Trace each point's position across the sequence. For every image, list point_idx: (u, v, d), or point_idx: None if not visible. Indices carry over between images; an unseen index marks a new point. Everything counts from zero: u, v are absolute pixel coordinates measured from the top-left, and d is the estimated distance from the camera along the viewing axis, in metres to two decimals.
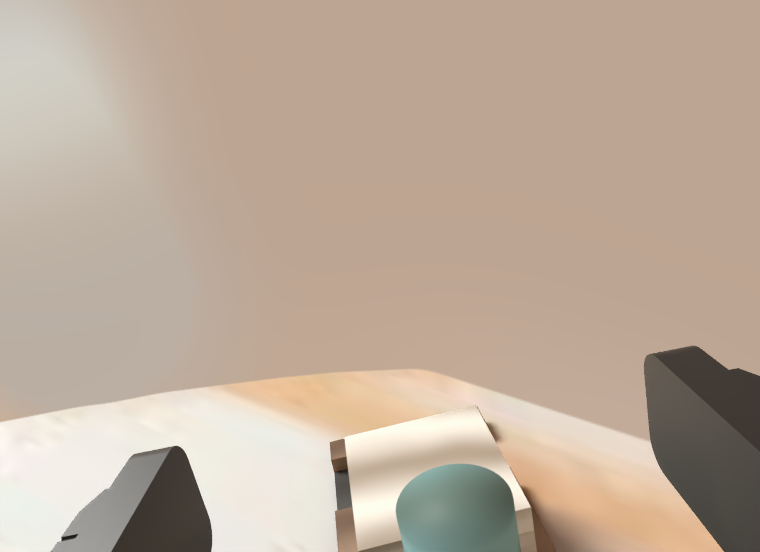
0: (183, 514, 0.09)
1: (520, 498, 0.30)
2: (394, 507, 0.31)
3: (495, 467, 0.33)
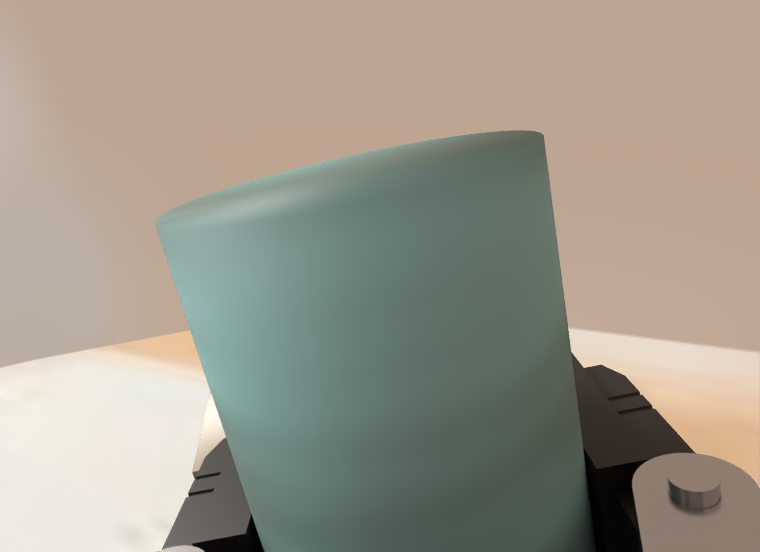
0: None
1: None
2: None
3: None
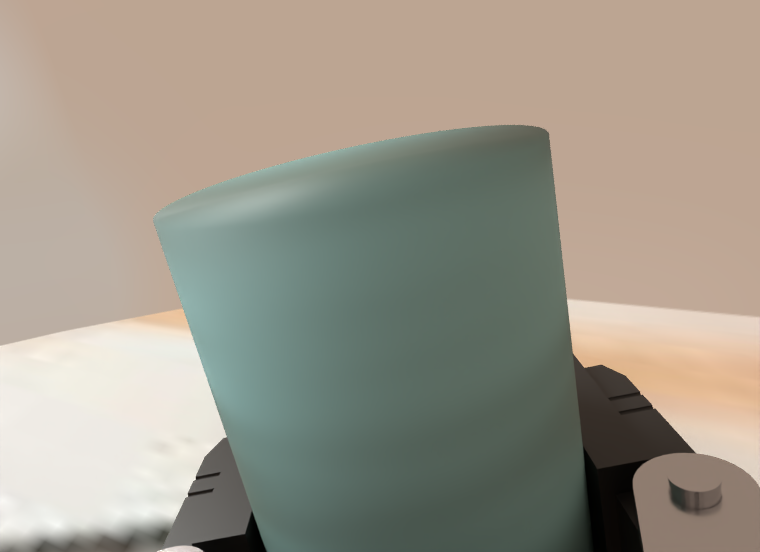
0: None
1: None
2: None
3: None
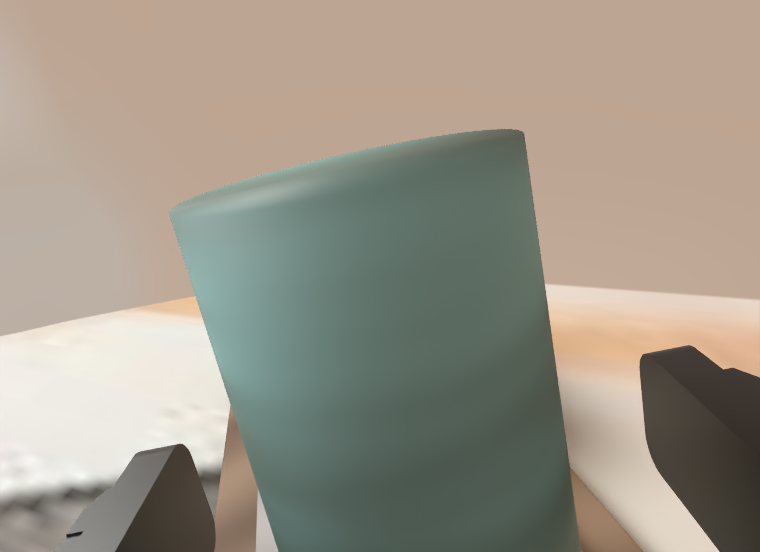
0: (187, 512, 0.09)
1: None
2: None
3: None
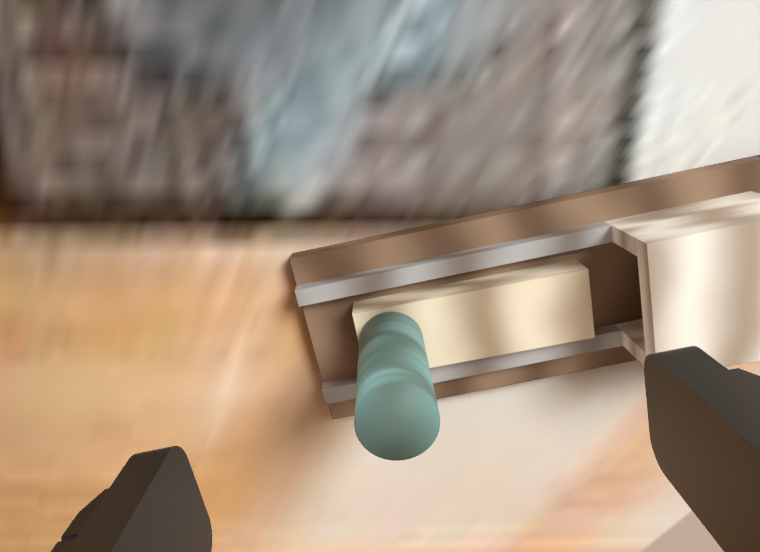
0: (183, 514, 0.09)
1: None
2: (690, 271, 0.34)
3: (713, 358, 0.36)
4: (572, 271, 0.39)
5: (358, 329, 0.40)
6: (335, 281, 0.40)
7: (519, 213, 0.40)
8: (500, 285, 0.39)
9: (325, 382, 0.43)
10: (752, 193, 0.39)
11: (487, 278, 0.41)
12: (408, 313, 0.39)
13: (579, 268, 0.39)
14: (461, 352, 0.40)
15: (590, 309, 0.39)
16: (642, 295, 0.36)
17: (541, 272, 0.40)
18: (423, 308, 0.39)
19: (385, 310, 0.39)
